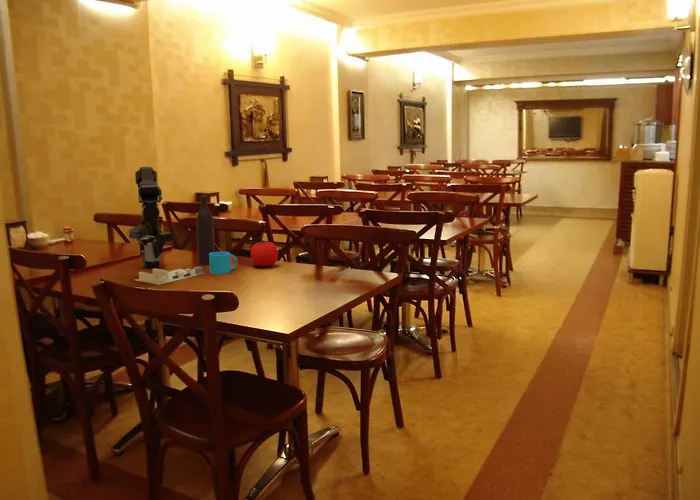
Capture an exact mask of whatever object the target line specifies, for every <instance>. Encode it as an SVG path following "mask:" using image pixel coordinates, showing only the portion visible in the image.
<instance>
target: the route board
mask: <svg viewBox="0 0 700 500" xmlns="http://www.w3.org/2000/svg"><path fill="white" fill-rule="evenodd" d="M175 271H181V272H184V274H186V271H185V269H182V268H178V269H174V270H168V273H169V279H166V280H162V281H158V282H149V281H144V280H139V278H136V279H134V281H137V282H143V283H148V284H154V285H158V286H160V285H165V284H167V283H170V282H175V281H179V280H182V279H187V278H191V277H193V276H188V277H184V278H181V279H178V278H176V279H173V276H175ZM202 274H204V272H203V273H202ZM202 274H201V275H202ZM199 275H200V274H198V275H197V274H196V276H199ZM155 278H158V277H155Z"/></svg>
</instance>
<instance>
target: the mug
mask: <svg viewBox="0 0 700 500" xmlns="http://www.w3.org/2000/svg"><path fill="white" fill-rule="evenodd" d="M231 257H232V258H233V260H234V261H233V262H234V263H233V265H232V266H231ZM209 262H210V265H209V273H210V274H213V275H224V274H229V273H231V271H232V270H234V268H236V266H237V265H238V259H237V257H236V256H235V255H234V254H232V253H230V251H215V252H213V253H210V254H209Z"/></svg>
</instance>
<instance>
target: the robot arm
mask: <svg viewBox="0 0 700 500" xmlns="http://www.w3.org/2000/svg"><path fill="white" fill-rule="evenodd" d="M134 176H135V177H134V180H135V185H137V192H138V203H139V204H141V214H142V215H141V216H142V219H140V220H139V224H138V225H136V226H135V227H133V228H131V229H130V230H128V231H129V239H133V240H134V239H135V240H136V241H137V242H139V254H140V256H141V255H142V261H143V262H142V264H143V265H142V266H140V269H142V268H143V269H157V268H159V267H162V265H160V260H159V261H154V262H150V261H145V248H144V245H147V243H150V242H151V243H152V244H153V246H154V254H155V258H156V259H157V258H158V257H159V255H160V254H163V253H164V252H163V248H164V246H165V245H166V243H168V242H170V241H171V242H172V241H175V235H174V233H173V232H167V231H165V232H163V230H162V229H160V223H162V219H160V218H159V216H160V209H159V204H158V203H162V200H163V193H162V188H161V187H160V186H158V173H157V171H156V170H154V168H153V167H152V166H142V167H139V169H138V170H137V171H135V172H134Z"/></svg>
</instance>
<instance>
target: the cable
mask: <svg viewBox="0 0 700 500" xmlns="http://www.w3.org/2000/svg"><path fill="white" fill-rule="evenodd" d="M188 276H190V273H188V274H184V277H188ZM176 278H178V275H177V276H173V279H176ZM188 278H189V277H188Z"/></svg>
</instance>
